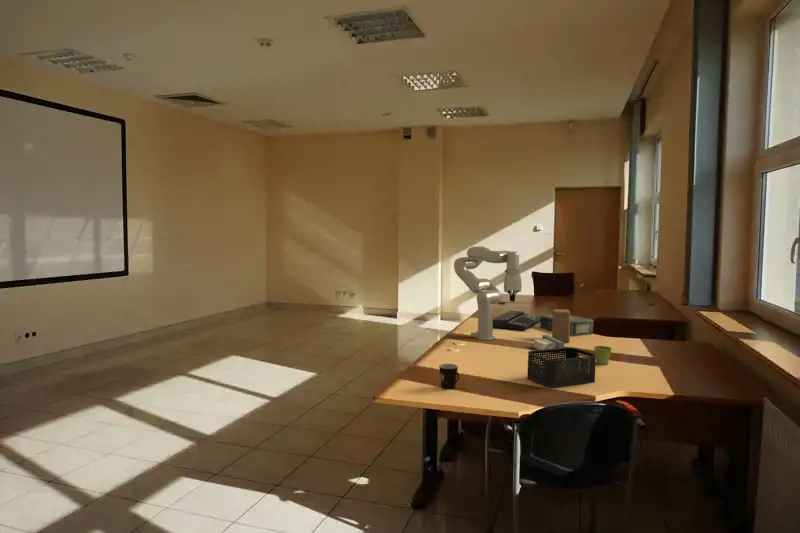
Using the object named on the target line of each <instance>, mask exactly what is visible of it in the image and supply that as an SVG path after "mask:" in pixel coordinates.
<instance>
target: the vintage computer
mask: <svg viewBox="0 0 800 533" xmlns="http://www.w3.org/2000/svg"><path fill="white" fill-rule="evenodd" d="M540 322H541V318H540V315H539V316H538V315H533V314H530V313H529V314H528V313H525V311H519V310H509V311H506V312H504V313H502V314H499V315H498V316H496V317H493V329H495V330H496V329H497V330H505V329H506V331H518V332H525V331H527V330H528V329H530V328H532V327H535V326H536V325H538V324H541V323H540Z"/></svg>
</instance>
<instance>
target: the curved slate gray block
mask: <svg viewBox="0 0 800 533" xmlns="http://www.w3.org/2000/svg"><path fill="white" fill-rule="evenodd" d="M541 336H542V337H541V339H547V340H549V341H552V342H554V343H556V348H565V343H564V342H562V341H560V340H557V339H555V338H553V337H552V335H551V336H550V335H548V334H542V335H541ZM556 348H555V349H556ZM561 352H562V351H561ZM563 352H564V351H563Z"/></svg>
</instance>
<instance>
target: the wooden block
mask: <svg viewBox="0 0 800 533" xmlns="http://www.w3.org/2000/svg"><path fill="white" fill-rule="evenodd" d="M552 314H553V321H552V331H551V334H552V335H551V337H553V338H555V339H557V340H560V341H562V342H564V344H568V343H570V337H571V336H570V315H571V312H570V309H565V308H564V309H563V308H562V309H561V308H557V309H556V308H555V309H554V308H553V310H552Z"/></svg>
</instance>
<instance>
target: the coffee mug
mask: <svg viewBox="0 0 800 533" xmlns="http://www.w3.org/2000/svg"><path fill="white" fill-rule="evenodd" d="M438 367H439V376H440V377H439V378H440V386H441V389H443V388H444V390H447V389H451V390H454V388H456V385H457V382H458V381H459V380H460V375H459V374H460V373H458V368H459V366H458V365H457V364H453V363H442V364H439V366H438Z"/></svg>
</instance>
